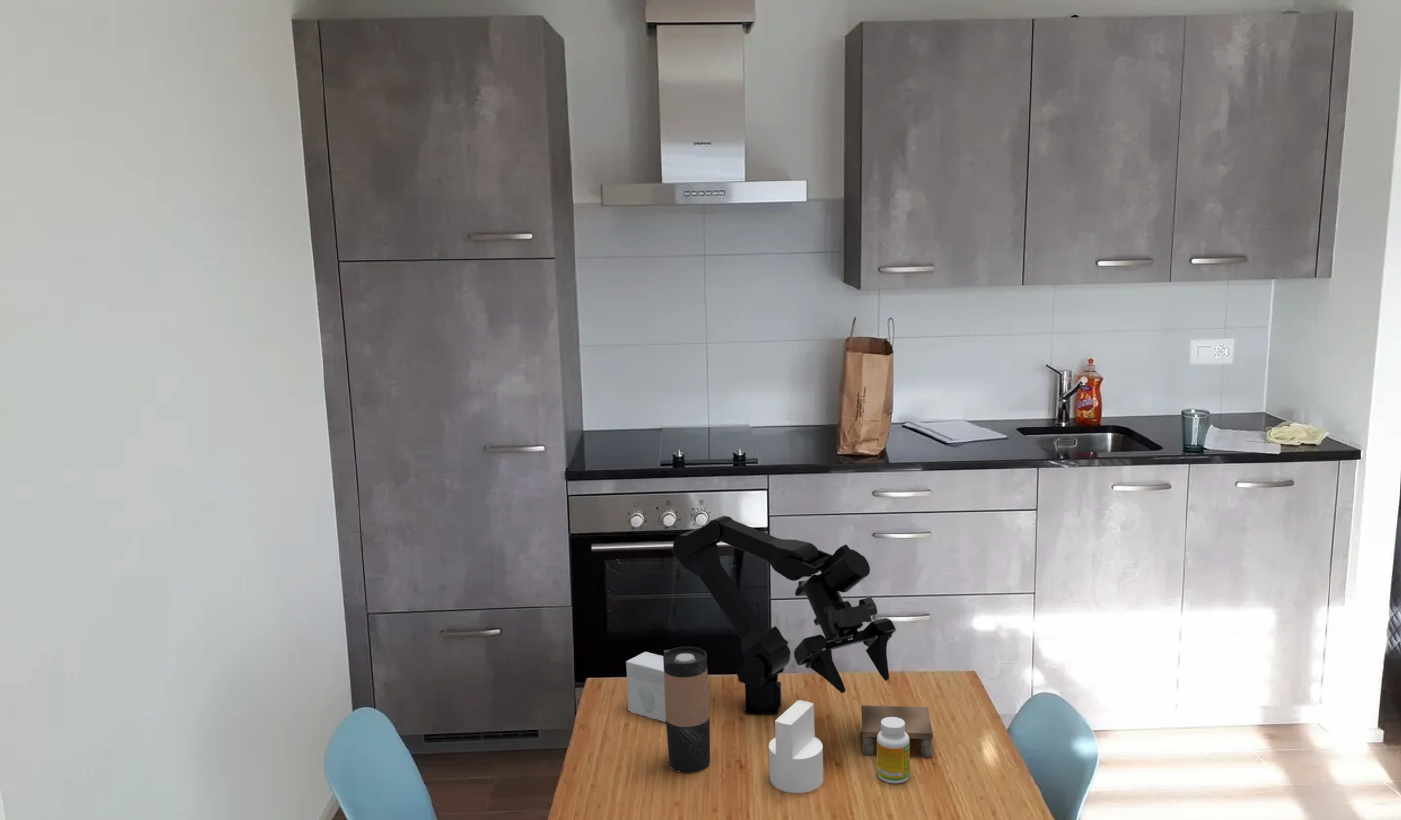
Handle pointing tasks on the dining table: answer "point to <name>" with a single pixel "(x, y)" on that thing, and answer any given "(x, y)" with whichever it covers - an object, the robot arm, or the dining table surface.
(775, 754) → the base with upright slab
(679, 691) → the travel mug
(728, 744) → the dining table surface
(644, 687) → the skincare box
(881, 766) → the supplement bottle
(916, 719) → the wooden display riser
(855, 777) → the dining table surface
